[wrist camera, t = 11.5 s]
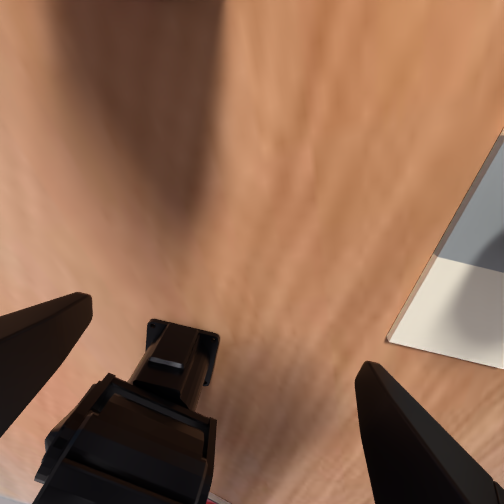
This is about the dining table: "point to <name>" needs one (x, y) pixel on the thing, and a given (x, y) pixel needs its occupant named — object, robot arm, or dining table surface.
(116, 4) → the dining table surface
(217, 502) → the smartphone
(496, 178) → the game board
